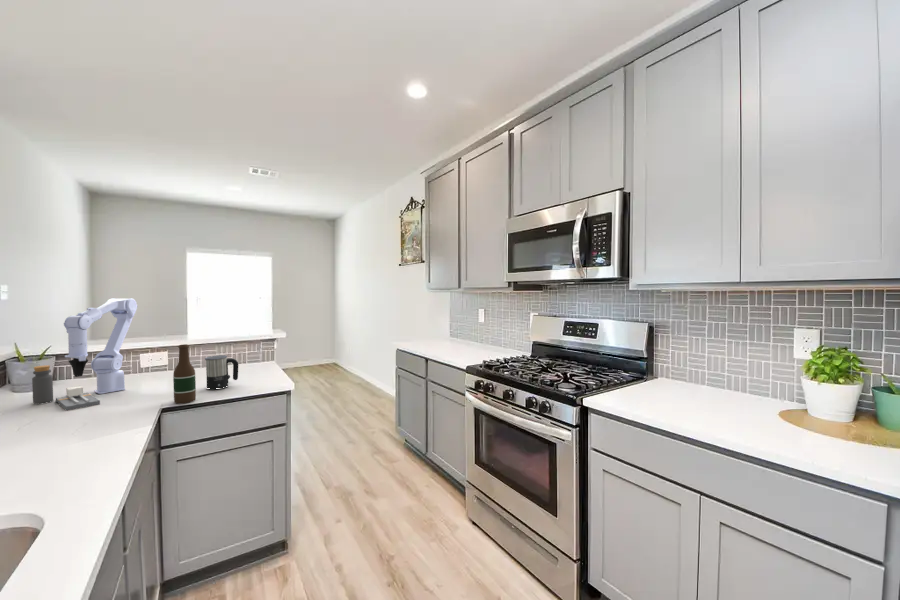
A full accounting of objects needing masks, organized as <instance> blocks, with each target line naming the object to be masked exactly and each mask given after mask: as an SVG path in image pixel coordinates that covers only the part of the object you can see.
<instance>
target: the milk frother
mask: <svg viewBox="0 0 900 600" xmlns="http://www.w3.org/2000/svg"><path fill="white" fill-rule="evenodd" d="M204 361H205V371H206V387H207V388H210V389H216V388H223V387H226V386H228V387H229V380H230V378H231V375H230V374H229V364H228V363H232V379H233V380H234V381H237V380H238V379H239V361H237V359H236V358H234V357H229V358H228V355H220V354H219V355H211V356H206V357H205V358H204ZM226 388H227V387H226ZM223 389H224V388H223Z"/></svg>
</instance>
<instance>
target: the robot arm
mask: <svg viewBox="0 0 900 600" xmlns="http://www.w3.org/2000/svg"><path fill="white" fill-rule="evenodd" d="M137 310H138V303H137V300H136V299H134V298H132V297H130V298H114V297H111V298H110V299H107V300H106V302H104V303H103V304H101V305H100V306H98V307H88V308H86V310H84V311H79V312H78V313H77V314H76V315H70V316H68V317H66V318H65V320H64V322H63V326H64V328H65V330H66V334H68V335H67V336H68V337H67V339H68V340H67V341H68V354H67V355H64V358H71V359H69V360H67V361H68V363H69V364H70V366H71V369H72V372H73V376H74V377H76V378H77V377H83V373H84V371H85V367H86V364H87V363H88V361H89V359H88V358H87V357H88V356H89V353H88V329H90V327H91V325H92V324H93V323H95V322H97V321H98V320H100V319H102V317H103V315H104V314H107V313H111V315H112V316H113V318H116V322H115V324H114V327H113V328H112V331H111V333H110V336H109V338H108V341H107V343H106V344H105V347H104V349H103V350H102V351H100V352H97V353H96V355H95V357H94V358H93V359H92V361H91V362H90V367H91V368H90V369H91V370H92V371H94V373H95V374H96V389H95V390H93V392H95V393H96V394H98V395H102V394H107V393H113V392H118V391H119V392H120V391H123V390H126V387H125V373H124V370H123V369H121V368H122V366H123V359H124V356H123V354H121V353H120V350H121V348H122V346H123V343H124V341H125V338H126V336H127V334H128V331H129V329H130V326H131V324H132V321H133V318H134V317H135V314H136V312H137Z"/></svg>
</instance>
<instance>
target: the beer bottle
mask: <svg viewBox="0 0 900 600" xmlns="http://www.w3.org/2000/svg"><path fill="white" fill-rule="evenodd" d="M189 348H190V345H189V344H179V345H178V351H179V352H178V362H177V365H176V366H175V368H174V370H173V376H172V378H173V379H172V381H173V401H174V403H175V404H176V405H177V404H179V405H181V404H182V405H183V404H189V403H193V402H194V401H196V399H197V398H196V397H197V394H196V393H197V392H196V391H197V390H196V385H197V383H196V381H197V380H196V370H195V367H194V366H193V365H192V363H191V361H190V360H191V359H190V351H189Z"/></svg>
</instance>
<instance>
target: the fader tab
mask: <svg viewBox="0 0 900 600" xmlns="http://www.w3.org/2000/svg"><path fill="white" fill-rule="evenodd" d="M65 390H66V393H65V394H66V395H67V396H68V397H71V396H73V397H77V395H83V393H84V387H83V386H81V385H78V386H71V387H66V389H65Z"/></svg>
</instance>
